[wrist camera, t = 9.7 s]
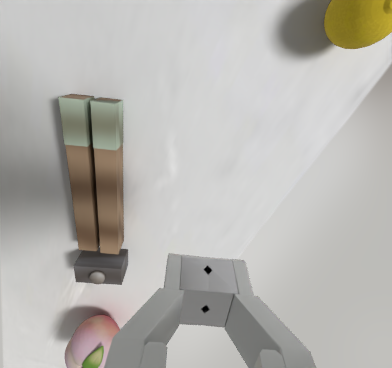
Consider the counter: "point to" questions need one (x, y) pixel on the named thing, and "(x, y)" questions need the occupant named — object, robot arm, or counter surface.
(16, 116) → the counter surface
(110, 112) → the tongs arm
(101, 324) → the decorative fruit
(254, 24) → the counter surface
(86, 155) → the tongs base
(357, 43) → the lemon
